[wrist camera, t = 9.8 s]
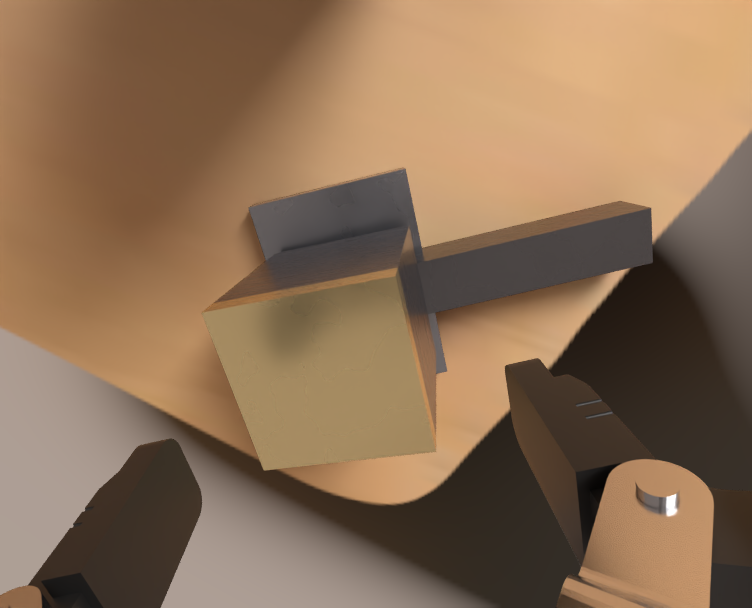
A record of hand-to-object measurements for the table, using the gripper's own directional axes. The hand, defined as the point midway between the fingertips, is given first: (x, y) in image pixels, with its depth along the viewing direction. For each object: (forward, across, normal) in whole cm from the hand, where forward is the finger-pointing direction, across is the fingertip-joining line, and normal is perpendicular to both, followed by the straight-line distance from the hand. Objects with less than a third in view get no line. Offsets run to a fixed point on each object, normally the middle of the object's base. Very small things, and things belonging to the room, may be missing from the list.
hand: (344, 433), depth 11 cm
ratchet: (+12, -5, 0) cm, 13 cm away
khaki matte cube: (+10, 0, 0) cm, 10 cm away
